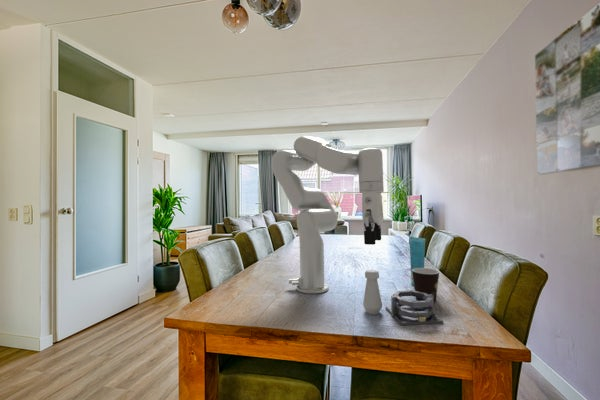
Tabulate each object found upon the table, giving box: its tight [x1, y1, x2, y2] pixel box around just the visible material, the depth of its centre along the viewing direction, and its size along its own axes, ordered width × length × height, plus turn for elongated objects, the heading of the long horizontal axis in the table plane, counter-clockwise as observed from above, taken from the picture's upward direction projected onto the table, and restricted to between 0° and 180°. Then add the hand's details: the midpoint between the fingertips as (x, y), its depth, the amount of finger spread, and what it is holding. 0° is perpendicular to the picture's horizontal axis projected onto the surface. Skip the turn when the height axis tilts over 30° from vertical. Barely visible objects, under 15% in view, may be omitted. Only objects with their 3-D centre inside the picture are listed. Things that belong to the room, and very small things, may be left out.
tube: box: [408, 236, 427, 286], centre depth 116 cm, size 7×5×19 cm, turn 39°
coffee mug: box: [412, 267, 440, 303], centre depth 100 cm, size 12×9×10 cm
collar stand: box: [385, 290, 444, 326], centre depth 86 cm, size 13×12×6 cm
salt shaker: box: [362, 269, 383, 316], centre depth 89 cm, size 6×6×13 cm
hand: (373, 242), depth 91 cm, fingers open, 9 cm apart
